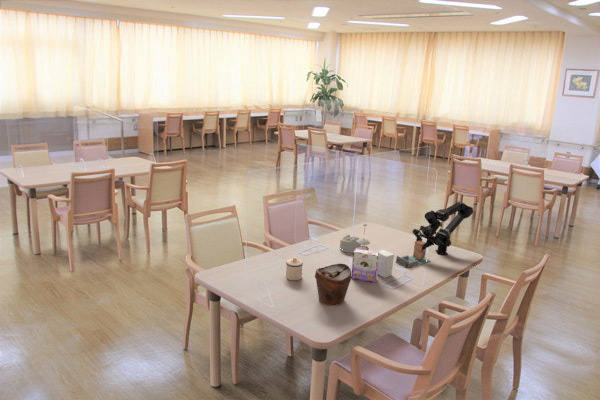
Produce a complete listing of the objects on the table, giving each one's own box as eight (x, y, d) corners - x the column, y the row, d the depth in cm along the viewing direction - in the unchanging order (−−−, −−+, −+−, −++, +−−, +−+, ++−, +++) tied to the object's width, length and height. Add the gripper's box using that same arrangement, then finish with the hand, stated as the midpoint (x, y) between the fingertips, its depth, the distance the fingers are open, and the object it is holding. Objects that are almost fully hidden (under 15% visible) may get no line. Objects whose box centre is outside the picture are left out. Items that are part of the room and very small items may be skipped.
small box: (391, 275, 282) (394, 254, 279) (384, 278, 278) (386, 256, 275) (381, 270, 288) (383, 249, 284) (373, 272, 284) (376, 251, 281)
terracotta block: (418, 255, 309) (420, 240, 306) (424, 258, 305) (426, 243, 302) (413, 256, 306) (414, 241, 303) (419, 259, 302) (421, 244, 299)
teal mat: (416, 255, 313) (416, 254, 313) (430, 261, 305) (430, 260, 304) (406, 258, 307) (406, 257, 307) (420, 264, 299) (420, 264, 299)
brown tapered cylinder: (307, 304, 244) (310, 271, 239) (320, 288, 262) (323, 257, 257) (341, 313, 238) (345, 280, 233) (352, 296, 256) (356, 264, 251)
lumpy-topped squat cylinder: (362, 251, 314) (363, 238, 312) (344, 253, 309) (345, 240, 306) (353, 245, 323) (354, 232, 321) (336, 247, 318) (337, 234, 315)
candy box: (377, 279, 277) (380, 251, 272) (375, 283, 271) (378, 255, 267) (353, 274, 281) (355, 247, 276) (350, 278, 276) (353, 251, 271)
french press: (351, 264, 294) (354, 224, 286) (356, 257, 304) (360, 219, 297) (367, 267, 290) (371, 227, 283) (372, 260, 301) (376, 221, 293)
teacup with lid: (304, 279, 271) (306, 259, 268) (290, 281, 267) (291, 262, 264) (294, 270, 281) (296, 251, 278) (280, 272, 277) (281, 253, 274)
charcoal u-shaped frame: (406, 258, 306) (407, 253, 305) (418, 264, 299) (419, 258, 298) (396, 262, 300) (396, 256, 299) (407, 267, 294) (408, 261, 292)
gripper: (415, 216, 308) (401, 236, 305) (440, 225, 294) (425, 246, 291) (422, 226, 315) (409, 245, 312) (446, 235, 301) (432, 256, 298)
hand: (418, 248), depth 303 cm, fingers closed on terracotta block, 5 cm apart
